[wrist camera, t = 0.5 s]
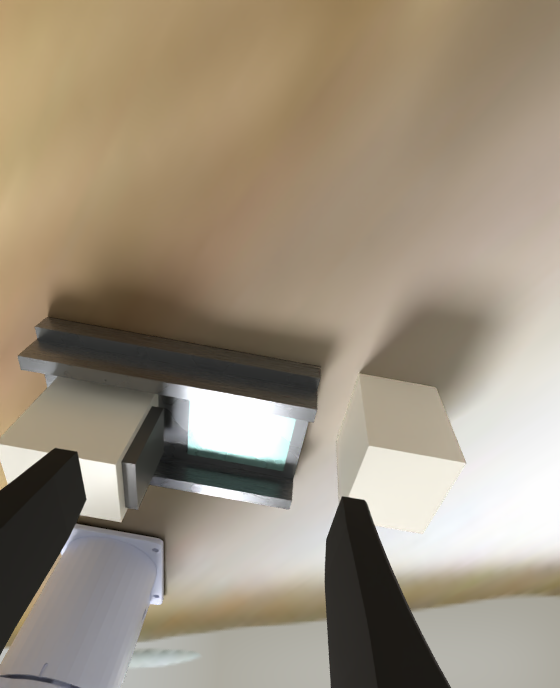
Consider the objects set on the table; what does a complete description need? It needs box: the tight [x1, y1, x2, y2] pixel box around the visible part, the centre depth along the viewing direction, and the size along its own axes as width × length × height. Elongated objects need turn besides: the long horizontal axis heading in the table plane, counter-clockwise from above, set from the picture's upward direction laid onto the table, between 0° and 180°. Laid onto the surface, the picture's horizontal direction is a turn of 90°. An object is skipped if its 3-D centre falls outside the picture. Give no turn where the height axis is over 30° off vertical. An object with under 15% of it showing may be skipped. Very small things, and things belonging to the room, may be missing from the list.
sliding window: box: [18, 317, 320, 509], centre depth 21 cm, size 9×14×2 cm, turn 81°
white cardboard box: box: [336, 373, 466, 534], centre depth 19 cm, size 4×6×5 cm
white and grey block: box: [0, 376, 164, 522], centre depth 19 cm, size 4×6×5 cm
